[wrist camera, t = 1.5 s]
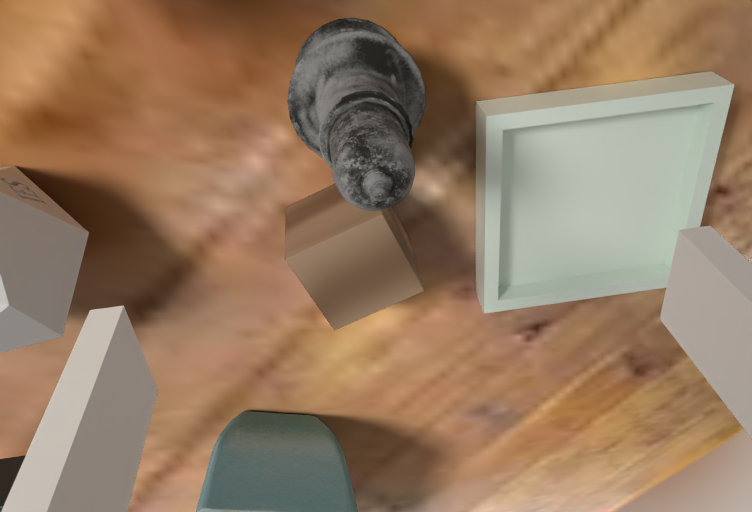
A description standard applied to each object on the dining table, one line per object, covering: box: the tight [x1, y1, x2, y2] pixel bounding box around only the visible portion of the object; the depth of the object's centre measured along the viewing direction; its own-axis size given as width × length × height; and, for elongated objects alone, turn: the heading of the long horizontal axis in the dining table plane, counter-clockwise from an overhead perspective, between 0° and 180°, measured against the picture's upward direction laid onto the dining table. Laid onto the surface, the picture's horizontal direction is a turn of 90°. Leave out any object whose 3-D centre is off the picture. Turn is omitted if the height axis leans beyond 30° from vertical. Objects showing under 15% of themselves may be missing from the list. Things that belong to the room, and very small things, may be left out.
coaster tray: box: [476, 71, 735, 313], centre depth 33 cm, size 12×12×2 cm
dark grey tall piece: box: [288, 18, 425, 211], centre depth 24 cm, size 6×6×12 cm
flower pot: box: [196, 411, 358, 512], centre depth 39 cm, size 9×9×9 cm
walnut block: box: [285, 184, 424, 330], centre depth 32 cm, size 5×5×5 cm
